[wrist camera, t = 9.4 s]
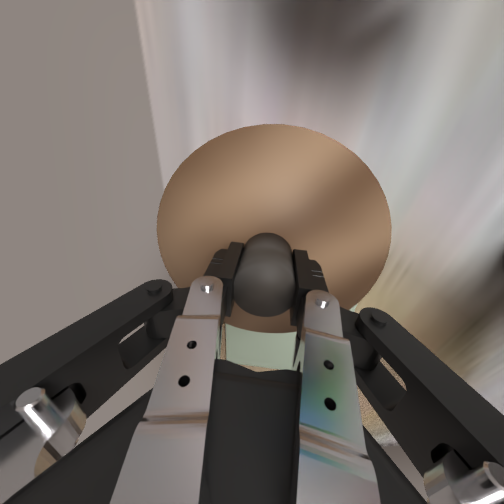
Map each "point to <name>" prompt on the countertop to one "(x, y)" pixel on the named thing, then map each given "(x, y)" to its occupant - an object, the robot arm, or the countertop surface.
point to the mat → (260, 347)
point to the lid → (275, 219)
